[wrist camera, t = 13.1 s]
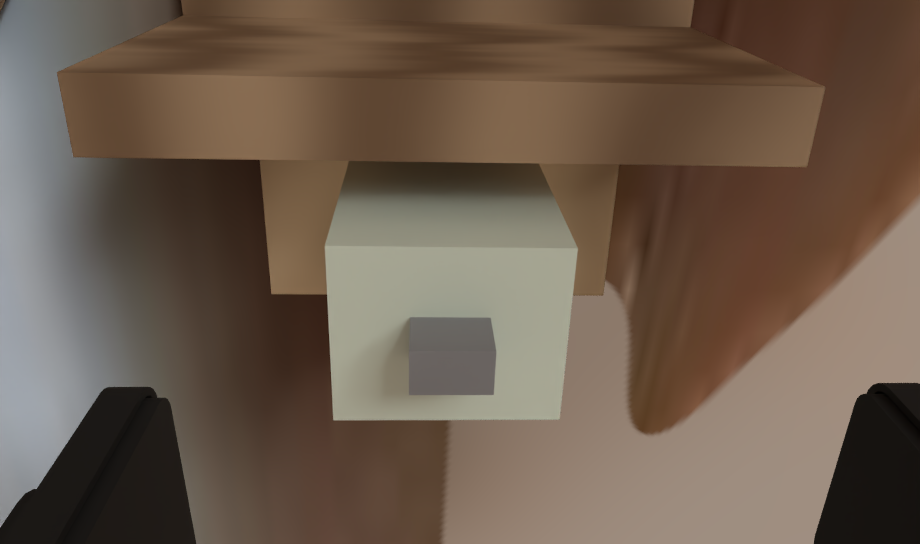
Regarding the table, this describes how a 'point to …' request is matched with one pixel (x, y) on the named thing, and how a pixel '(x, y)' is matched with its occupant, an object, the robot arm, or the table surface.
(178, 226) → the table surface
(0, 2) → the wooden block
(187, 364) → the table surface
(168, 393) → the table surface
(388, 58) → the brown box
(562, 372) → the cabinet
